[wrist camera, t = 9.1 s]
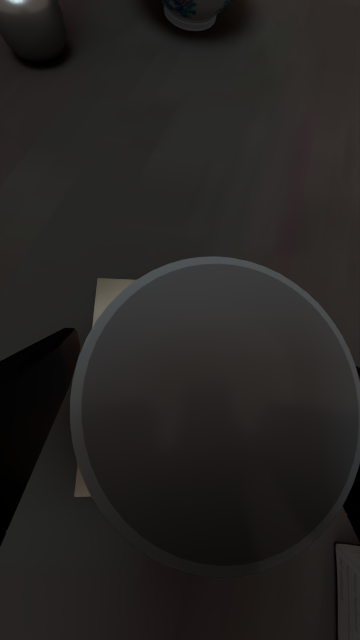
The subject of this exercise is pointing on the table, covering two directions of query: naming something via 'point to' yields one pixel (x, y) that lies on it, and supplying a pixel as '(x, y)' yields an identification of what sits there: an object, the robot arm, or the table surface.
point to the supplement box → (348, 591)
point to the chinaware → (193, 13)
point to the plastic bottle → (33, 28)
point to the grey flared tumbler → (216, 417)
